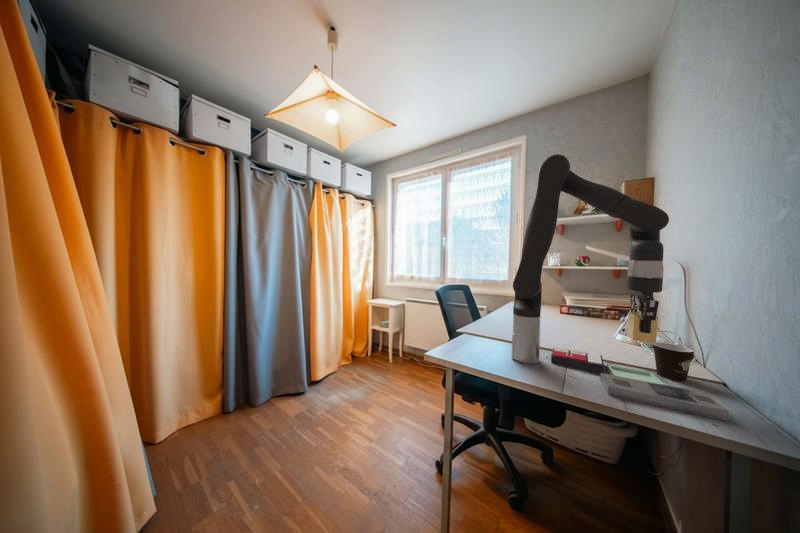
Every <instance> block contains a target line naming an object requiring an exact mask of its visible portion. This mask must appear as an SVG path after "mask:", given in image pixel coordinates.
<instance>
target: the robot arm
mask: <svg viewBox="0 0 800 533" xmlns="http://www.w3.org/2000/svg"><path fill="white" fill-rule="evenodd" d="M536 185H537V187H536V192H535V197H534V200H533V203H532V206H531V209H530V213H529V217H528V219H527V223H526V228H525V232H524V237H523V242H522V248H521V249H522V250H521V257H520V263H519V265H518V269H517V271H516V273H515V274H516V275H515V276H514V279H513V282H512V289H513V292H514V303H513V310H512V311H513V312H512V313H513V314H512V335H511V337H512V338H511V340H512V341H511V359H512V360H515V361H517V362H520V363H524V364H530V365H533V364H534V365H535V364H539V363H540V344H541V343H540V342H541V312H542V310H541V309H542V294H543V293H542V292H543V290H542V289H543V287H542V286H543V285H542V281H541V279H542V272H543V267H544V263H545V259H546V257H547V255H548V253H549V251H550V248H551V245H552V242H553V238H554V235H555V232H556V227H557V224H558V223H557V222H558V216H559V215H558V214H559V206H560V205H559V204H560V203H559V202H560V197H561V193H562V192H563V193H566V194H567V195H570V196H572V197H574V198H577V199H578V200H580V201H581V202H584V203H586V204H588V205H589V206H590V207H592V208H594V209H596V210H598V211H600V212H602V213H603V214H605V215H607V216H609V217H612V218H614V219H618V220H619V219H620V220H622V221H624V222H626V223H628V224H629V240H630V251H629V263H628V265H627V266H628V268H627V282H626V289H627V290H629V291H633V292H634V294H630V297H629V299H630V301H629V302H630V310H629V311H631V312H639V313H640V332H642V333H650V332H651V321H653V320H656V316H657V314H658V308H659V303H660V302H659V301H658V300H656V299H655V298H654V294H655V293H662V292H663V282H664V272H665V271H664V269H665V268H664V263H663V262H664V244H663V243H662V242H661V234H660V233H661V230H663V229H665V228H666V227H667V226H668V225H669V222H670V217H669V215H668V213H667V212H665V211H664V210H663V209H661V208H660V207H658V206H655V205H653V204H650V203H647V202H644V201H641V200H637V199H634V198H633V197H630V196H629V195H627V194H625V193H623V192H620V191H618V190H616V189H614V188H613V187H610V186H608V185H607V186H606V185H604V184H600V183H597V182H593V181H590V180H587V179H585V178H583V177H581V176H579V175H577V174H576V173H574V171H572V170H571V164H570V161H569V159H568V158H567V157H566V156H565V155H563V154H558V153H557V154H553V155H552V154H551V155H550V156H548V157H547V158H546V159H544V160H543V162H542V163H541V165H540V166H539V169H538V176H537V184H536ZM647 313H648V314H649V315H647Z"/></svg>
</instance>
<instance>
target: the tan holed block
mask: <svg viewBox="0 0 800 533" xmlns="http://www.w3.org/2000/svg"><path fill="white" fill-rule="evenodd" d="M647 315H649V314H648V313H647ZM658 318H659V317H658V316H657V315H656V320H653V321H651V332H650V333H642V332H640V313H639V312H631V311H630V310H629V311H628V320H627V335H626V336H627V337H628V338H630V339H631V340H632V341H636V342H643V343H649V344H650V343H651V344H653V343H655V344H656V342H657V333H658Z"/></svg>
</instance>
